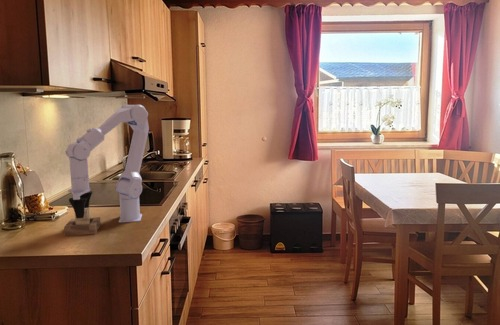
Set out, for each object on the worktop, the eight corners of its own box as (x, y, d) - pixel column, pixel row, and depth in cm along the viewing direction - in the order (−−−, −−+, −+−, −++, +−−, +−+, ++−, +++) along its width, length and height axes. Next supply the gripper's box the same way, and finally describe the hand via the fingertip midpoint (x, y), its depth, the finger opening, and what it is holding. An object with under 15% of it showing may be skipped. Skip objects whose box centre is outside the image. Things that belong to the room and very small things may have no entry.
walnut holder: (71, 226, 150) (71, 218, 149) (100, 225, 151) (100, 217, 151) (64, 235, 140) (64, 227, 139) (95, 233, 142) (95, 225, 141)
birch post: (78, 227, 147) (77, 208, 146) (90, 226, 148) (89, 207, 147) (76, 230, 143) (74, 211, 142) (88, 230, 144) (87, 210, 143)
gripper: (72, 173, 149) (75, 210, 151) (61, 181, 135) (65, 221, 137) (92, 173, 150) (95, 209, 152) (84, 180, 136) (87, 220, 138)
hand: (82, 214), depth 145 cm, fingers open, 7 cm apart
